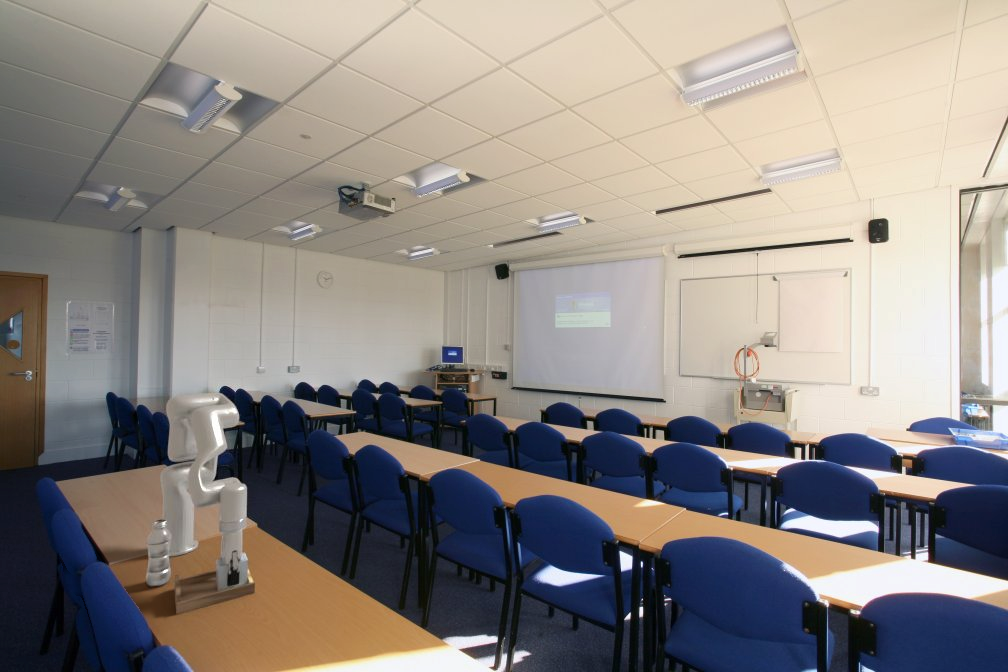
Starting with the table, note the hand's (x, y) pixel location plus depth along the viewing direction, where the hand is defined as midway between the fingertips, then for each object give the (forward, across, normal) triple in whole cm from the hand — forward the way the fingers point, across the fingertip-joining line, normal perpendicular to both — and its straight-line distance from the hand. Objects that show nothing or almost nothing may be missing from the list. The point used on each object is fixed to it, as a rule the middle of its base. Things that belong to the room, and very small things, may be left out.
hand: (231, 579), depth 150 cm
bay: (+2, 0, -5) cm, 5 cm away
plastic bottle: (+2, -15, -19) cm, 24 cm away
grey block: (+1, 0, 0) cm, 1 cm away
